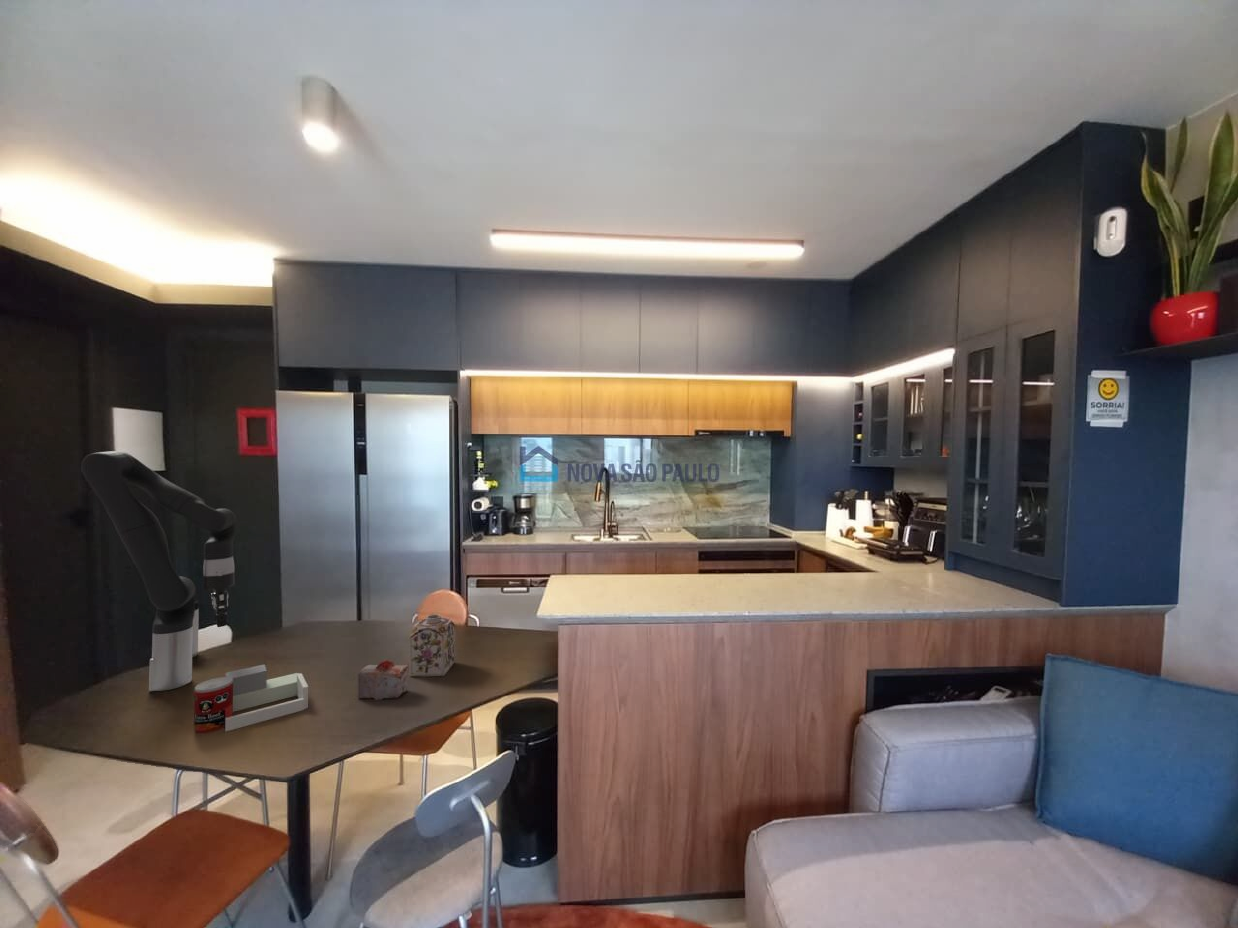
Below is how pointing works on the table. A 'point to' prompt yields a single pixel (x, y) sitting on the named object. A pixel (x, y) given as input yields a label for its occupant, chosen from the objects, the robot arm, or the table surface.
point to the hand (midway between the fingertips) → (220, 623)
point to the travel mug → (195, 630)
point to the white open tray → (264, 695)
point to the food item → (382, 681)
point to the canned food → (213, 704)
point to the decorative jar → (432, 646)
